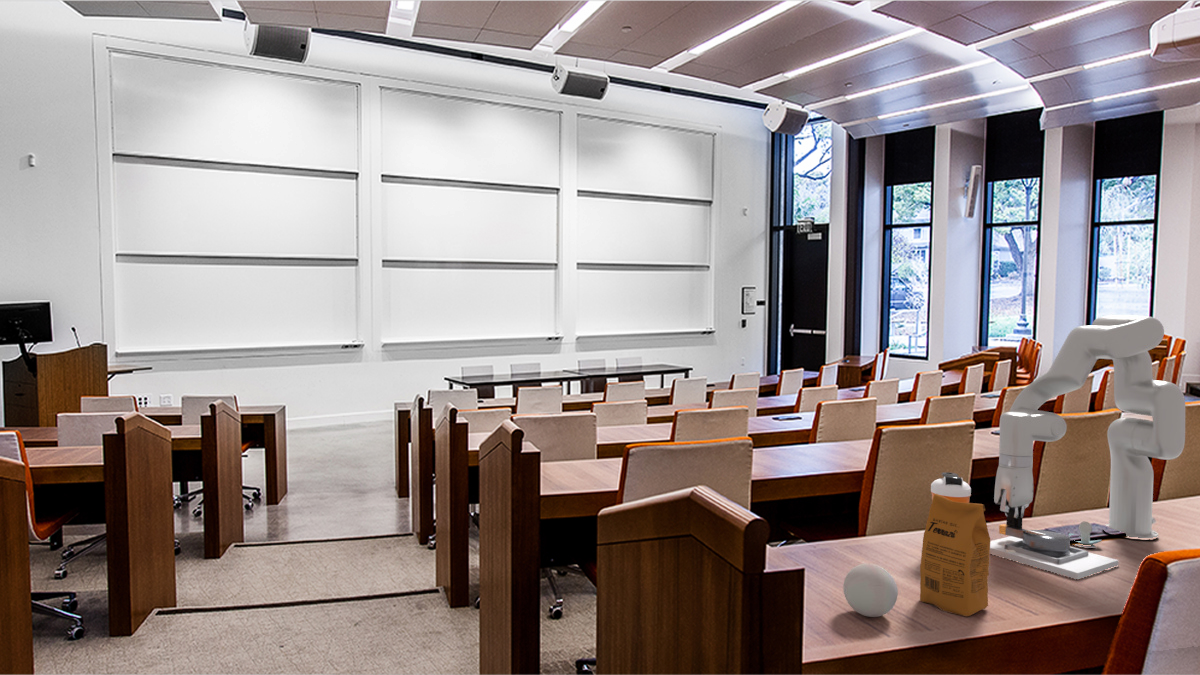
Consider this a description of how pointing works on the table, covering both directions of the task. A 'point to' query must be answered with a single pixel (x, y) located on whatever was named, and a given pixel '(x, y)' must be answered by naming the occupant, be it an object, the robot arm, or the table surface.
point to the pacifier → (1086, 535)
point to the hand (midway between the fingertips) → (1014, 531)
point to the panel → (1052, 558)
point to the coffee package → (955, 557)
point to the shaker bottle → (951, 488)
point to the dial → (1040, 540)
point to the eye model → (870, 590)
